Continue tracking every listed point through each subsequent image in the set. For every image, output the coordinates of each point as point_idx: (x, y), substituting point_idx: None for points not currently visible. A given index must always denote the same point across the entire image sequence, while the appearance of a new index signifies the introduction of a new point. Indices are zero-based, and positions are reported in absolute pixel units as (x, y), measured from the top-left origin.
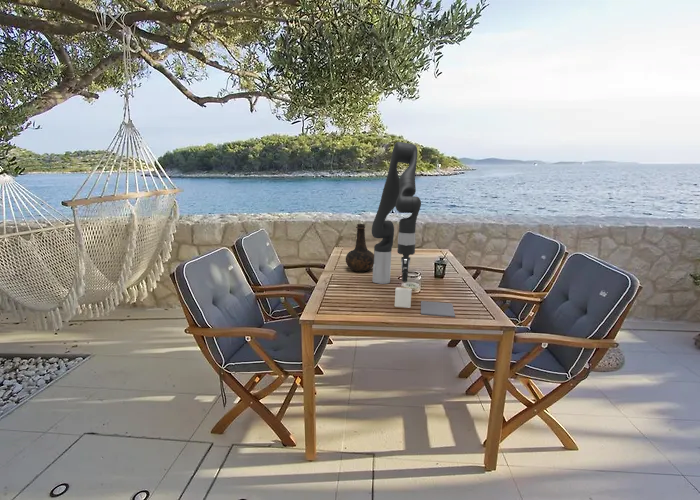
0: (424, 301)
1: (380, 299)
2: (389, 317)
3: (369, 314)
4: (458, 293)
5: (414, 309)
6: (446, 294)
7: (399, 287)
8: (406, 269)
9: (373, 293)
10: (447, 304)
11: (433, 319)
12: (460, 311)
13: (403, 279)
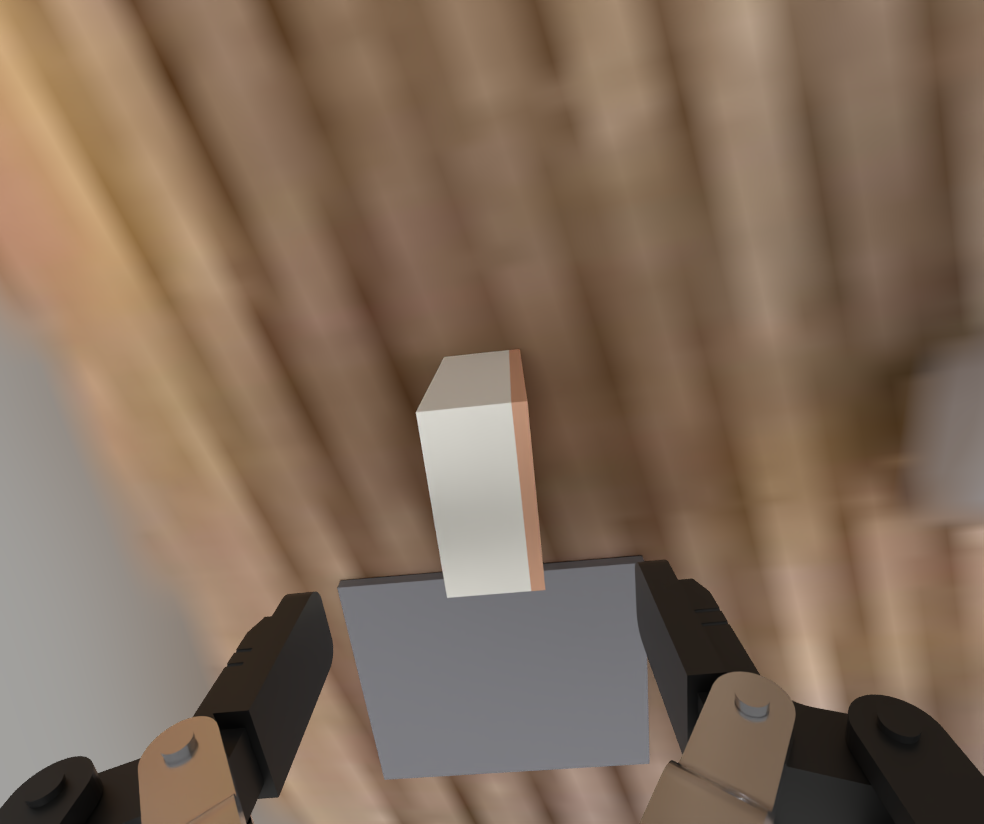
0: None
1: (616, 166)
2: (150, 362)
3: (117, 160)
4: None
5: None
6: None
7: (521, 450)
8: (680, 726)
9: (833, 14)
10: (613, 738)
11: None
12: (517, 795)
13: (249, 642)
